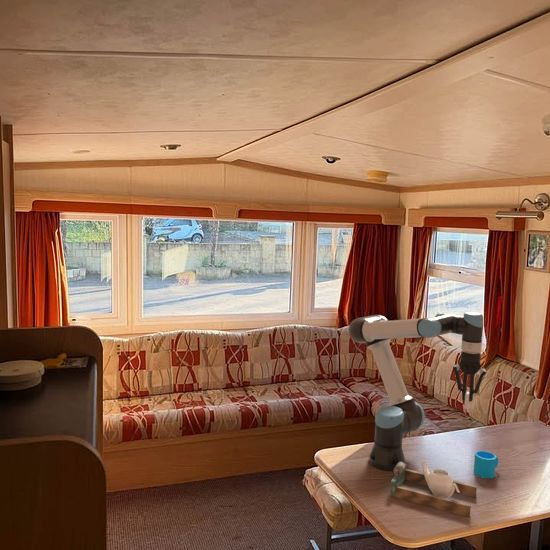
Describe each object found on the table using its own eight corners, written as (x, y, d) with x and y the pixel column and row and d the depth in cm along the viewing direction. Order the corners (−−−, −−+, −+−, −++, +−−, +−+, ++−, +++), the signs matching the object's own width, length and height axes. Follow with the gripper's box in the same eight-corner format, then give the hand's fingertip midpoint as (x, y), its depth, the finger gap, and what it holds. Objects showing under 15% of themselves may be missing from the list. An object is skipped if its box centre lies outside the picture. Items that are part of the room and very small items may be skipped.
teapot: (448, 511, 193) (449, 487, 192) (411, 486, 211) (412, 463, 210) (468, 506, 197) (469, 482, 196) (430, 481, 215) (431, 459, 214)
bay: (388, 495, 203) (389, 472, 202) (400, 476, 218) (401, 455, 217) (469, 517, 190) (471, 493, 189) (476, 495, 205) (477, 473, 204)
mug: (485, 480, 217) (486, 461, 216) (469, 471, 224) (470, 453, 223) (505, 474, 223) (506, 455, 222) (488, 466, 230) (490, 447, 229)
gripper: (452, 350, 214) (448, 407, 216) (487, 356, 207) (482, 414, 210) (456, 347, 220) (451, 402, 223) (489, 351, 214) (485, 408, 216)
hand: (466, 408), depth 216 cm, fingers closed
